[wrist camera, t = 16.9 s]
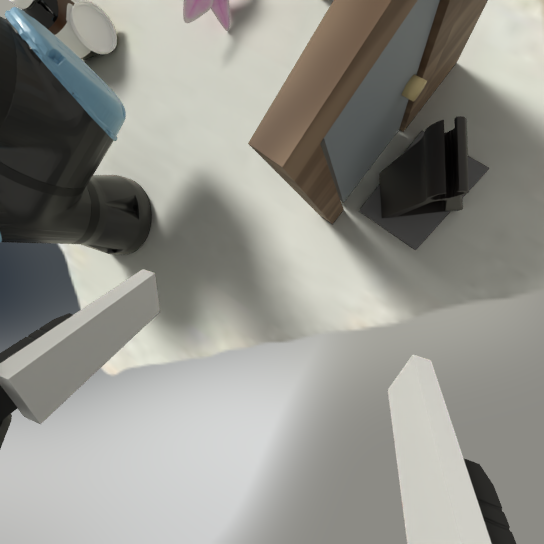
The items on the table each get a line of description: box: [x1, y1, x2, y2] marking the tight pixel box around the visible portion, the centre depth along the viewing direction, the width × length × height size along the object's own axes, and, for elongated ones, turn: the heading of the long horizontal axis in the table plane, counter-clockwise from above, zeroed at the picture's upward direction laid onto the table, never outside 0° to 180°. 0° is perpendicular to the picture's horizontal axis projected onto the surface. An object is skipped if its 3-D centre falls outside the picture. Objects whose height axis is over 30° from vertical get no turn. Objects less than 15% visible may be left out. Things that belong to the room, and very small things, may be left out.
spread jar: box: [9, 0, 117, 59], centre depth 43 cm, size 12×11×12 cm
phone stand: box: [380, 117, 469, 219], centre depth 26 cm, size 9×6×12 cm, turn 94°
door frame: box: [248, 0, 488, 224], centre depth 21 cm, size 2×24×24 cm, turn 143°
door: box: [320, 0, 440, 202], centre depth 23 cm, size 11×3×21 cm, turn 143°
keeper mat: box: [359, 131, 489, 250], centre depth 31 cm, size 9×12×1 cm
